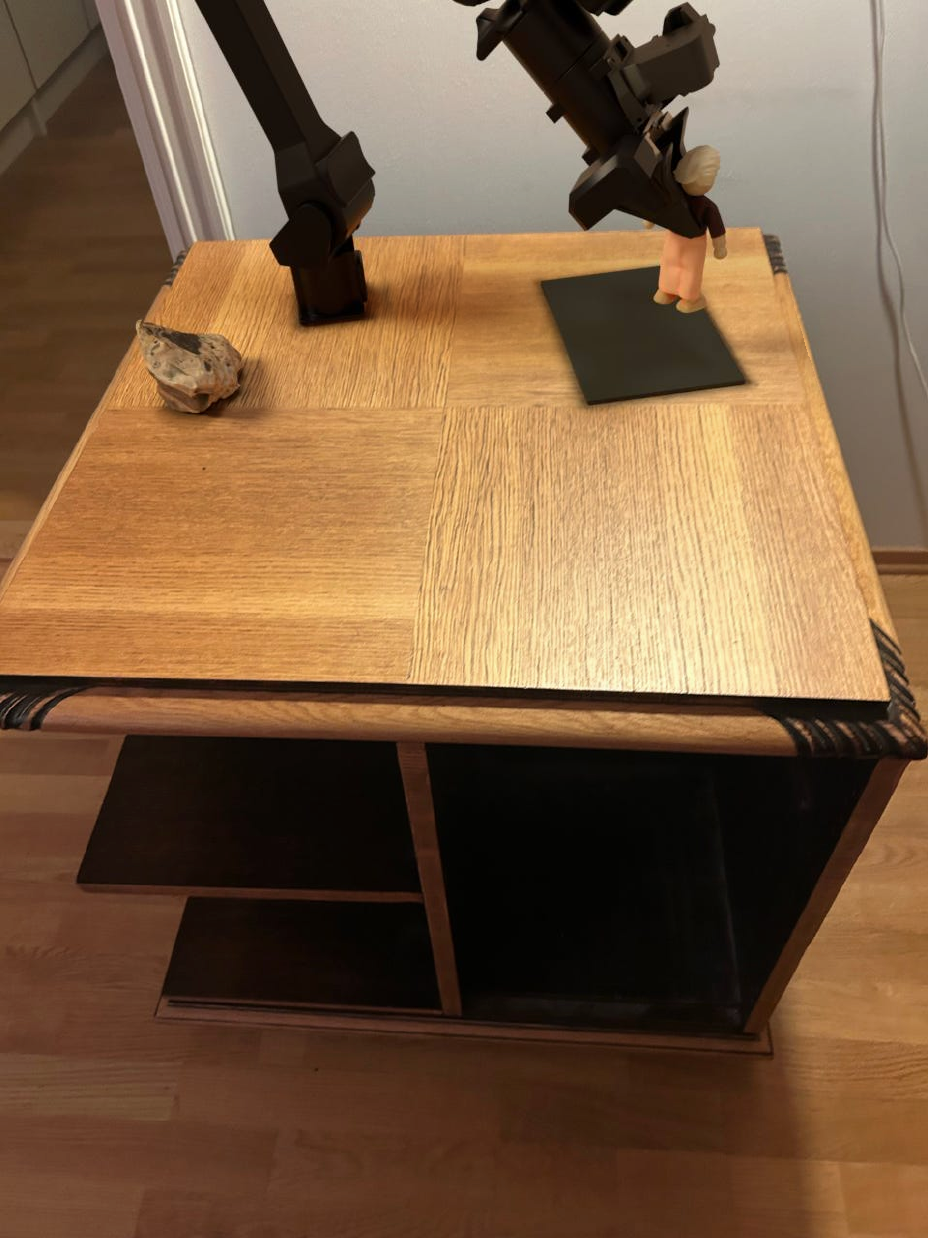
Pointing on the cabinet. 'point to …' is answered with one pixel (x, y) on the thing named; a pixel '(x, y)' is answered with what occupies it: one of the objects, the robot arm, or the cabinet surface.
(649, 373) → the mat
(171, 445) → the cabinet surface
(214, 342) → the rock
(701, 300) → the grandmother figurine
